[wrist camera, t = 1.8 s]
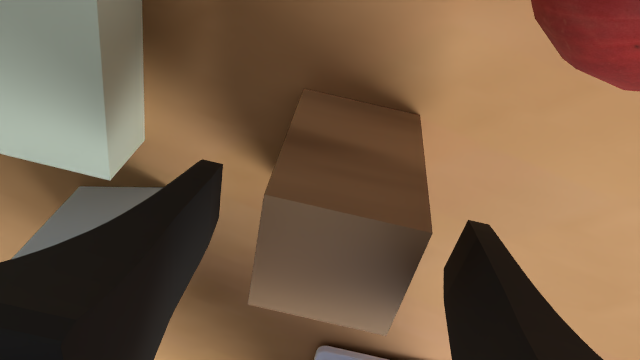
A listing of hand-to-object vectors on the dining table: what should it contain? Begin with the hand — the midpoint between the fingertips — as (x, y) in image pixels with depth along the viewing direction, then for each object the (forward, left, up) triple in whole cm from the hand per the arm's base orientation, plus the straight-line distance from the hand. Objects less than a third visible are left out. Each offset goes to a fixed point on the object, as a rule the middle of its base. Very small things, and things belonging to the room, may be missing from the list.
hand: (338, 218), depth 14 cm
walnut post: (0, 0, -4) cm, 4 cm away
